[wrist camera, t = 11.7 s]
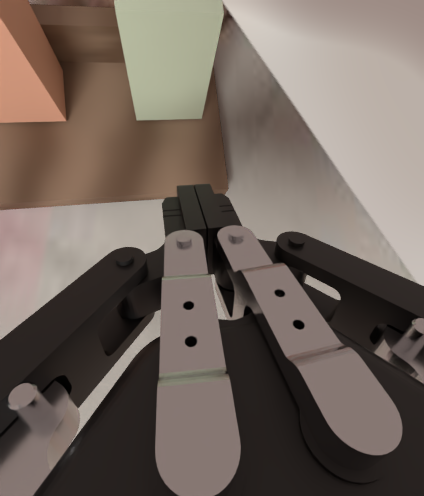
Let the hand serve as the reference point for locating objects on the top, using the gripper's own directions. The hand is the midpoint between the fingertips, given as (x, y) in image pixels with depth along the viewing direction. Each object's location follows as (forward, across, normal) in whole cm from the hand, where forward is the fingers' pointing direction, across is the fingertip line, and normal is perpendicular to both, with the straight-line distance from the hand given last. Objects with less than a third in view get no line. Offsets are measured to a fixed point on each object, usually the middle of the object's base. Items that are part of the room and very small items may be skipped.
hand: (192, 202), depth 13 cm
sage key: (+13, 0, -2) cm, 14 cm away
